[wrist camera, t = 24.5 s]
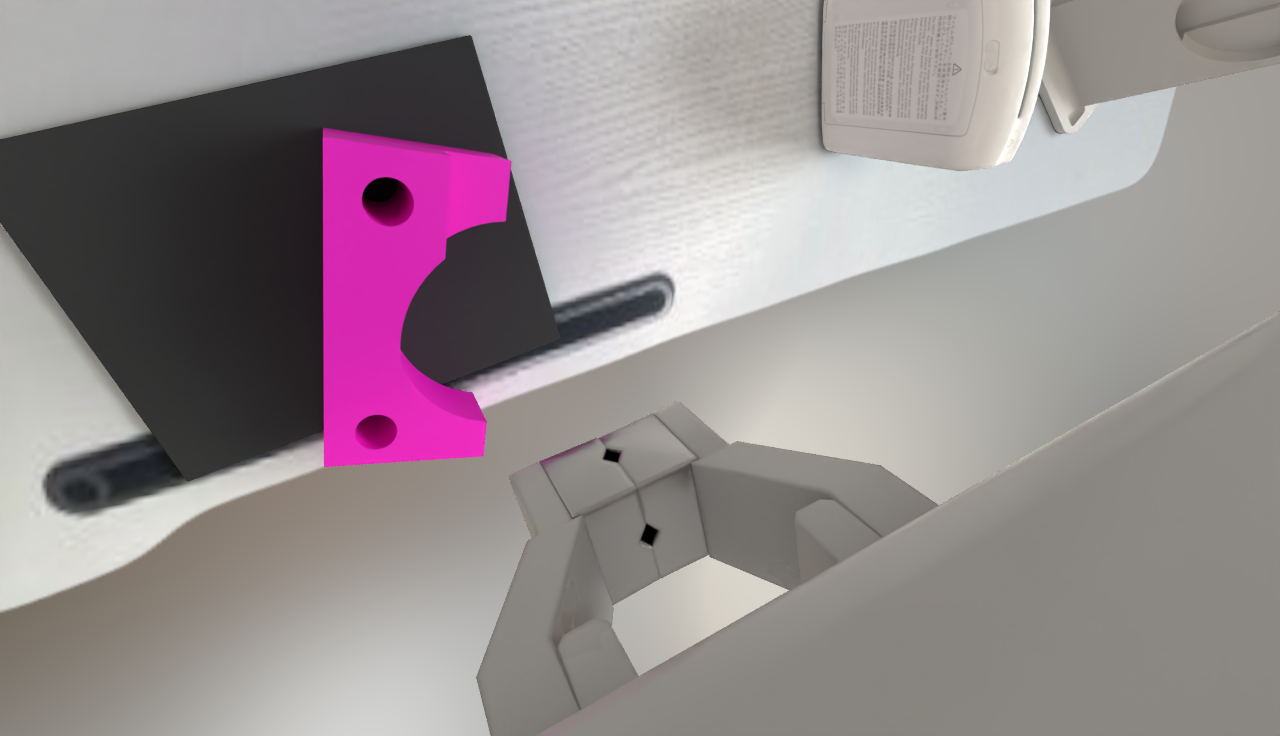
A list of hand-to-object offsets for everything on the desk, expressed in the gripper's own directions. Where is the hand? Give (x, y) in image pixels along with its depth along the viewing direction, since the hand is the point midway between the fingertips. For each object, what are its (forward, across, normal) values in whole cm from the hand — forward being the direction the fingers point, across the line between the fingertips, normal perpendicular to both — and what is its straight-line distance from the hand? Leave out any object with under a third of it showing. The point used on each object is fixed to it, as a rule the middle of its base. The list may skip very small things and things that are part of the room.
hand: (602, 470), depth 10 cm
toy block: (+22, +6, +2) cm, 22 cm away
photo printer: (+25, -27, -1) cm, 37 cm away
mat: (+25, +5, +1) cm, 26 cm away
